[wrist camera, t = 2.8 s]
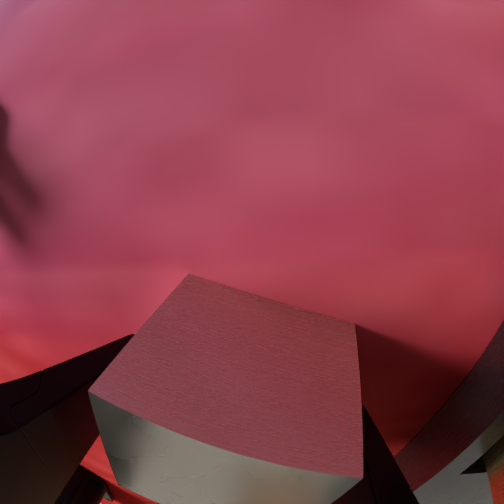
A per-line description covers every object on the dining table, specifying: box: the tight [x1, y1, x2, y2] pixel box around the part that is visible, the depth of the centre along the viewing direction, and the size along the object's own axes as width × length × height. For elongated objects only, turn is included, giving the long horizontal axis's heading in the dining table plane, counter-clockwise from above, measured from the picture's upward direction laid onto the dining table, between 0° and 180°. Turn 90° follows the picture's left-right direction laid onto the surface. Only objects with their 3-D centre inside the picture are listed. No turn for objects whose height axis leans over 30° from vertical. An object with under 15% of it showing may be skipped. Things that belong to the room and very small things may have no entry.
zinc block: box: [88, 274, 363, 504], centre depth 8 cm, size 5×5×5 cm
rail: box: [394, 321, 504, 504], centre depth 9 cm, size 24×9×2 cm, turn 167°
